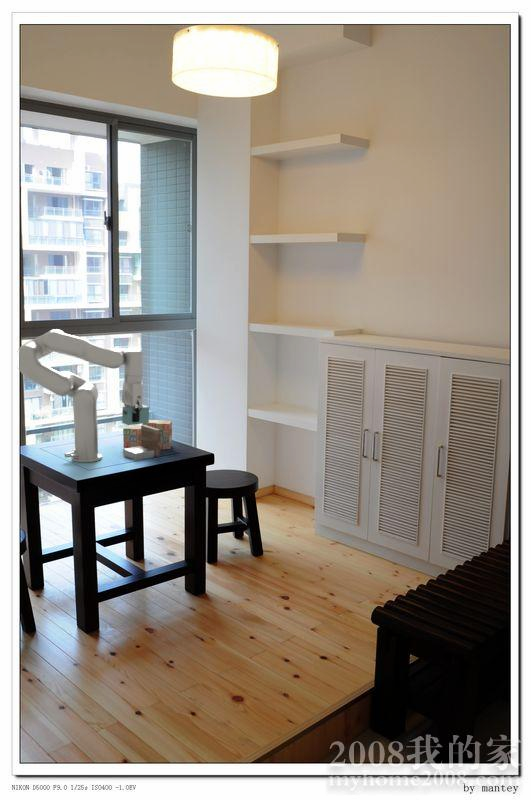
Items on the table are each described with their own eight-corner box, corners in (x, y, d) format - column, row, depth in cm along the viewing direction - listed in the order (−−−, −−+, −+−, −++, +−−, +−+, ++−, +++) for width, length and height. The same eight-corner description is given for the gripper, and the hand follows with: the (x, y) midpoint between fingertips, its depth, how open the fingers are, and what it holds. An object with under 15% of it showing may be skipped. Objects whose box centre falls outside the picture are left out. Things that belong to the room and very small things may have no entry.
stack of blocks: (123, 448, 340) (122, 421, 338) (126, 444, 346) (126, 418, 344) (169, 449, 339) (169, 423, 336) (172, 446, 345) (172, 420, 342)
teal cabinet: (126, 425, 316) (126, 409, 315) (120, 422, 320) (120, 406, 319) (148, 422, 323) (149, 406, 322) (142, 420, 327) (142, 404, 326)
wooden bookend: (137, 460, 320) (136, 433, 317) (122, 455, 328) (121, 428, 326) (160, 456, 327) (160, 429, 325) (145, 450, 336) (144, 424, 334)
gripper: (115, 376, 321) (114, 417, 325) (135, 382, 308) (134, 425, 312) (130, 375, 326) (129, 415, 329) (151, 381, 313) (150, 423, 317)
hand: (132, 420), depth 321 cm, fingers closed on teal cabinet, 5 cm apart
